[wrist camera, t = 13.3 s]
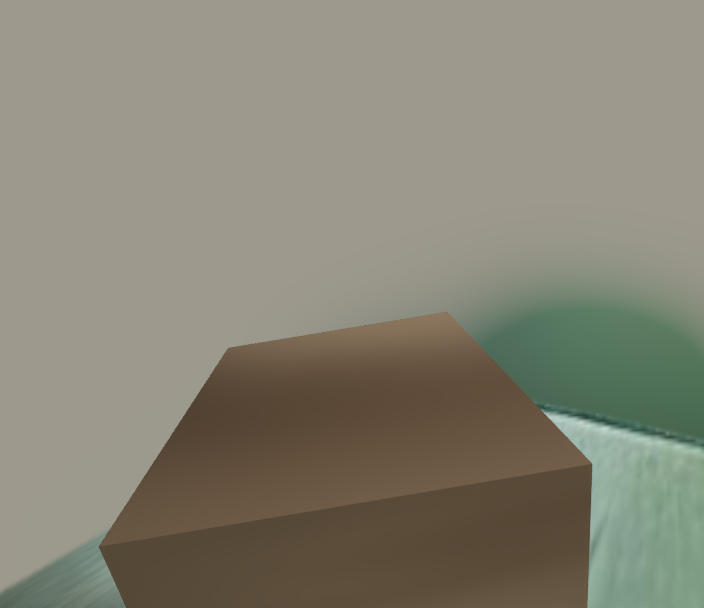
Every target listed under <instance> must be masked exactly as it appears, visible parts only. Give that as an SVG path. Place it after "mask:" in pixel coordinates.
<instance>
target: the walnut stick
mask: <svg viewBox="0 0 704 608" xmlns="http://www.w3.org/2000/svg"><path fill="white" fill-rule="evenodd" d="M591 486H592V463H591V462H590V461H589V460H588V459H587V458H586V457H585V456H584V455H583V454H582V453H581V452H580V450H579V449H578V448H577V447H576V446H575V445H574V444H573V443H572V442H571V441H570V440H569V439H568V438H567V437H566V436H565V435H564V434H563V433H562V432H561V431H560V430H559V428H558V427H557V426H556V425H555V424H554V423H553V422H552V421H551V420H550V419H549V418H548V417H547V416H546V415H545V414H544V413H543V412H542V411H541V410H540V409H539V408H538V406H537V405H536V404H535V403H534V402H533V401H532V400H531V399H530V398H529V397H528V396H527V395H526V394H525V393H524V392H523V391H522V390H521V389H520V388H519V387H518V386H517V384H516V383H515V382H514V381H513V380H512V379H511V378H510V377H509V376H508V375H507V374H506V373H505V372H504V371H503V370H502V369H501V368H500V367H499V366H498V365H497V364H496V363H495V361H494V360H493V359H492V358H491V357H490V356H489V355H488V354H487V353H486V352H485V351H484V350H483V349H482V348H481V347H480V346H479V345H478V344H477V343H476V342H475V340H474V339H473V338H471V336H470V335H469V334H468V333H467V332H466V331H465V330H464V329H463V328H462V327H461V326H460V325H459V324H458V323H457V322H456V321H455V320H454V319H453V318H452V316H451V315H450V314H449V313H448V312H443V313H437V314H431V315H425V316H419V317H413V318H407V319H401V320H395V321H389V322H382V323H376V324H371V325H364V326H359V327H353V328H346V329H340V330H334V331H328V332H322V333H316V334H310V335H304V336H298V337H292V338H286V339H280V340H274V341H268V342H262V343H255V344H249V345H243V346H238V347H232V348H228V349H227V351H226V352H225V354H224V355H223V357H222V358H221V360H220V361H219V363H218V364H217V366H216V367H215V369H214V371H213V372H212V374H211V375H210V377H209V378H208V380H207V381H206V383H205V384H204V386H203V387H202V389H201V391H200V392H199V394H198V395H197V397H196V398H195V400H194V401H193V403H192V404H191V406H190V407H189V409H188V410H187V412H186V414H185V415H184V417H183V418H182V420H181V421H180V423H179V425H178V426H177V427H176V429H175V431H174V432H173V433H172V435H171V437H170V439H169V440H168V441H167V443H166V444H165V446H164V447H163V449H162V450H161V452H160V453H159V455H158V457H157V458H156V460H155V461H154V463H153V464H152V466H151V467H150V469H149V470H148V472H147V473H146V475H145V476H144V478H143V480H142V481H141V483H140V484H139V486H138V487H137V489H136V490H135V492H134V493H133V495H132V497H131V498H130V500H129V501H128V503H127V504H126V506H125V507H124V509H123V510H122V512H121V513H120V515H119V516H118V518H117V520H116V521H115V523H114V524H113V526H112V527H111V529H110V530H109V532H108V533H107V535H106V536H105V538H104V539H103V541H102V542H101V544H100V546H99V548H100V551H101V553H102V555H103V557H104V559H105V562H106V564H107V566H108V568H109V570H110V573H111V575H112V577H113V579H114V581H115V584H116V586H117V588H118V590H119V592H120V595H121V597H122V599H123V601H124V603H125V605H126V608H587V600H588V571H589V543H590V514H591Z"/></svg>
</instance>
